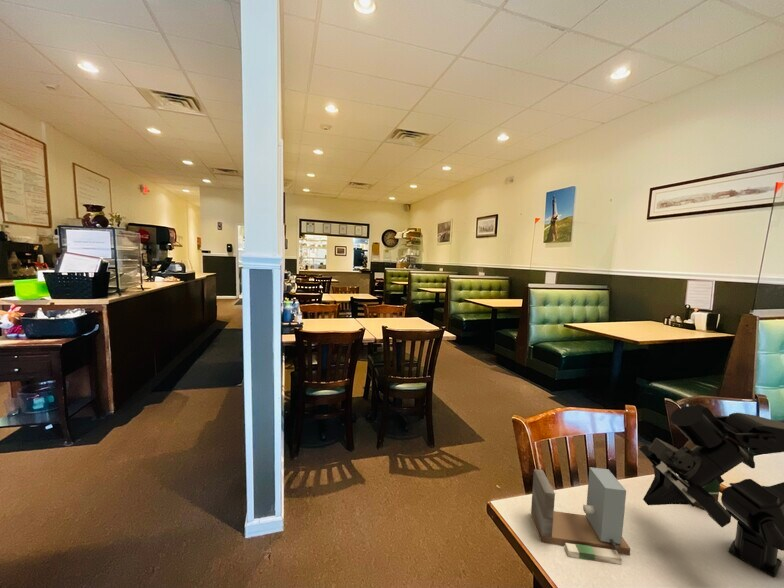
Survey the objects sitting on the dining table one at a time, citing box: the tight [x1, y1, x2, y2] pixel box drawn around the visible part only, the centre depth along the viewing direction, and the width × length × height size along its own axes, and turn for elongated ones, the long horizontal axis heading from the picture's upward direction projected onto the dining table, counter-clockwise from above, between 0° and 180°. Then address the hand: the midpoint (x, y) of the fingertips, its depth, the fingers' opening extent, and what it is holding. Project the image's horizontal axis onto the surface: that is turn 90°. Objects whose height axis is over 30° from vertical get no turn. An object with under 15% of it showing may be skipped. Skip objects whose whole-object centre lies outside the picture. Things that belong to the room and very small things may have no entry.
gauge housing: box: [530, 468, 631, 565], centre depth 69 cm, size 18×11×12 cm, turn 81°
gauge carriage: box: [582, 466, 627, 551], centre depth 68 cm, size 6×9×12 cm, turn 171°
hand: (645, 502), depth 68 cm, fingers closed
